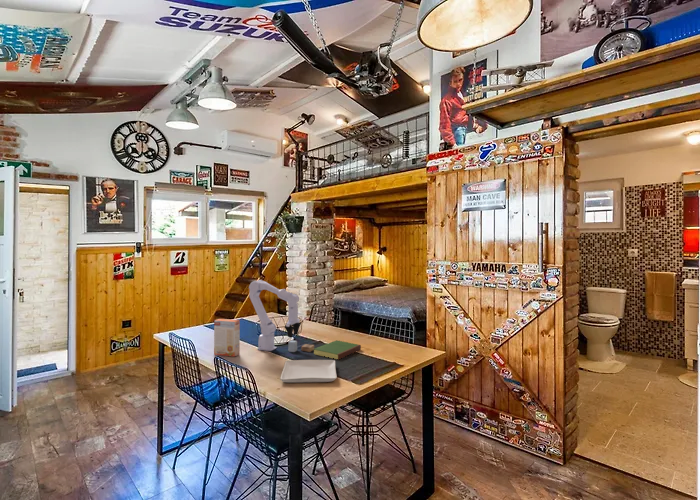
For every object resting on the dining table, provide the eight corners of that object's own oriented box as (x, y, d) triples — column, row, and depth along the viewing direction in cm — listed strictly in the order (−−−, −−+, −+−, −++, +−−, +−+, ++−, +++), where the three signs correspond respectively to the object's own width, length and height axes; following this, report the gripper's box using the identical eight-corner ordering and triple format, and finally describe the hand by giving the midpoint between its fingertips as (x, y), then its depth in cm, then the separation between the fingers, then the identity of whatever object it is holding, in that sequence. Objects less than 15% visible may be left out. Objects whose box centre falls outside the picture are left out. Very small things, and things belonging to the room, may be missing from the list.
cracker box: (240, 354, 228) (240, 319, 227) (234, 357, 222) (234, 321, 221) (219, 352, 232) (219, 318, 231) (213, 354, 226) (213, 320, 225)
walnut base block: (301, 351, 237) (301, 346, 237) (305, 348, 242) (305, 344, 242) (310, 352, 235) (310, 347, 235) (314, 349, 240) (314, 345, 240)
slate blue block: (288, 351, 235) (288, 341, 235) (291, 349, 239) (291, 340, 239) (294, 352, 234) (294, 342, 234) (297, 350, 238) (297, 340, 237)
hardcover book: (338, 360, 220) (338, 354, 220) (313, 355, 230) (313, 348, 230) (361, 350, 241) (361, 344, 241) (337, 345, 251) (337, 340, 251)
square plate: (285, 366, 208) (285, 359, 208) (335, 366, 210) (335, 359, 210) (279, 385, 181) (279, 377, 181) (336, 385, 183) (337, 377, 183)
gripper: (293, 316, 228) (293, 339, 228) (304, 312, 241) (303, 333, 242) (283, 315, 230) (282, 338, 230) (294, 311, 244) (293, 332, 244)
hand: (292, 335), depth 236 cm, fingers open, 7 cm apart
